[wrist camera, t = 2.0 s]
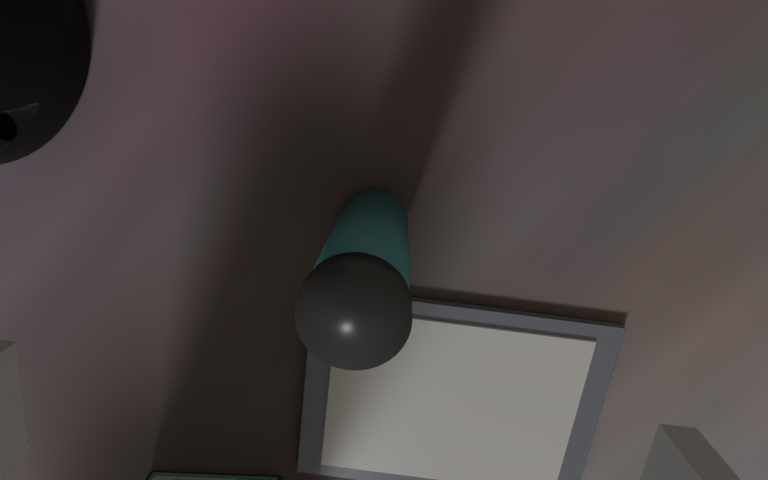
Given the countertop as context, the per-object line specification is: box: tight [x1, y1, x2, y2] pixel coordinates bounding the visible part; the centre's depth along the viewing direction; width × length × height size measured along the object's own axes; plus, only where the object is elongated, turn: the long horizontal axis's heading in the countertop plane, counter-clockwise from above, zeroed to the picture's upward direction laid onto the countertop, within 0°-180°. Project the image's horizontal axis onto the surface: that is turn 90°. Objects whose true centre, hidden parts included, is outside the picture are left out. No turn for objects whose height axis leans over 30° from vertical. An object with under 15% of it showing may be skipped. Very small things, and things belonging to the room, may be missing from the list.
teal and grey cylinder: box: [294, 189, 412, 370], centre depth 21 cm, size 4×4×13 cm
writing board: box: [297, 297, 625, 480], centre depth 30 cm, size 18×13×1 cm
